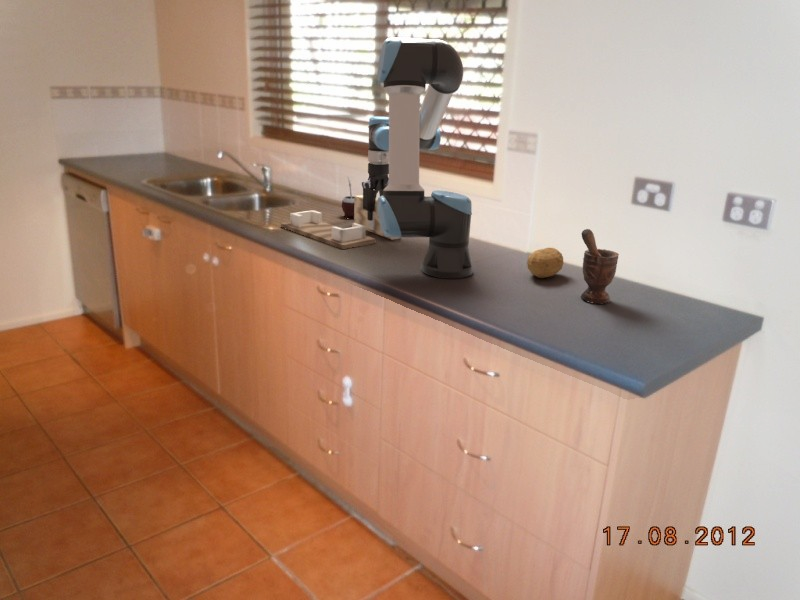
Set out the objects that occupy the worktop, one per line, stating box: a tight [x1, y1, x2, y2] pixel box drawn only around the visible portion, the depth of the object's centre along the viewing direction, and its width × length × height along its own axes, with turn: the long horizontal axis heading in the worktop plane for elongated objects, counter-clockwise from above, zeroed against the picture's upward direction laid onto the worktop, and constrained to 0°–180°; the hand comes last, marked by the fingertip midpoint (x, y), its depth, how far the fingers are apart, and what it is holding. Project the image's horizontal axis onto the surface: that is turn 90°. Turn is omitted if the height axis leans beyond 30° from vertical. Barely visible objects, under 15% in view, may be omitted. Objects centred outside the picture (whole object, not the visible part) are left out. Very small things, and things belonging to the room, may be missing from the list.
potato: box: [526, 247, 564, 279], centre depth 195 cm, size 10×14×8 cm
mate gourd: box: [341, 176, 355, 220], centre depth 257 cm, size 8×8×15 cm
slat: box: [353, 194, 402, 241], centre depth 238 cm, size 24×4×11 cm, turn 37°
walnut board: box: [280, 221, 377, 250], centre depth 232 cm, size 36×14×2 cm, turn 43°
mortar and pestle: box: [580, 228, 619, 304], centre depth 173 cm, size 12×9×20 cm
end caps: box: [289, 209, 367, 242], centre depth 231 cm, size 30×10×4 cm, turn 43°
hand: (377, 228), depth 239 cm, fingers closed on slat, 4 cm apart
